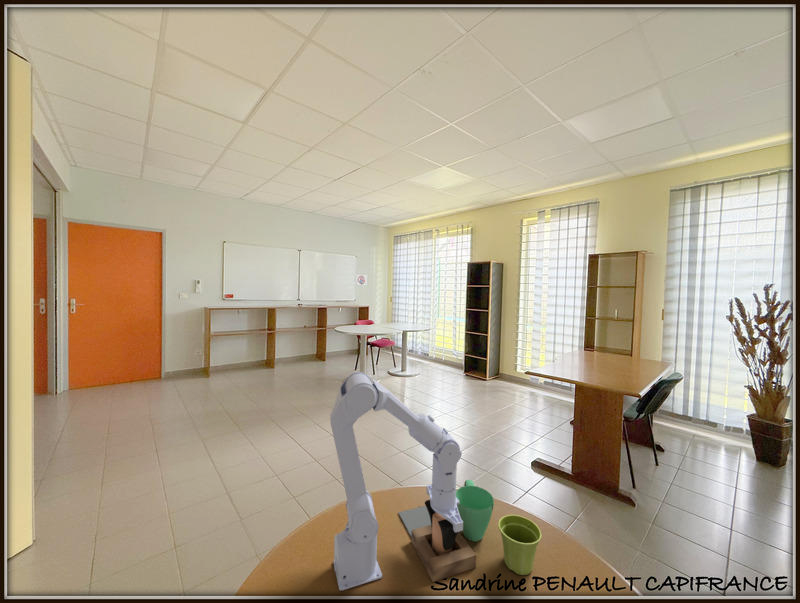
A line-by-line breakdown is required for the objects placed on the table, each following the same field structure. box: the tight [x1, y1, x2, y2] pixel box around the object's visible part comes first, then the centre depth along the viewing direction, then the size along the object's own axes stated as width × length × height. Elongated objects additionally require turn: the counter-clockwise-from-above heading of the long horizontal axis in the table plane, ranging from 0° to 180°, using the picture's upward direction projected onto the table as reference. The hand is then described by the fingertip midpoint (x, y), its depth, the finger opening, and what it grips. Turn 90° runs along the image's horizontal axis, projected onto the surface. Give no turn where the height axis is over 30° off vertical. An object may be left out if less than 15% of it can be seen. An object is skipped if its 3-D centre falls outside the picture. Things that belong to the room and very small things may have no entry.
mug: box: [456, 479, 495, 542], centre depth 87 cm, size 15×10×10 cm
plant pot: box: [497, 514, 543, 576], centre depth 76 cm, size 9×9×9 cm
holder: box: [410, 525, 477, 583], centre depth 78 cm, size 11×12×3 cm
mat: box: [398, 505, 431, 537], centre depth 89 cm, size 10×10×1 cm
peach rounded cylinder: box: [431, 512, 454, 557], centre depth 78 cm, size 5×5×9 cm
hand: (442, 539), depth 78 cm, fingers closed on peach rounded cylinder, 5 cm apart
